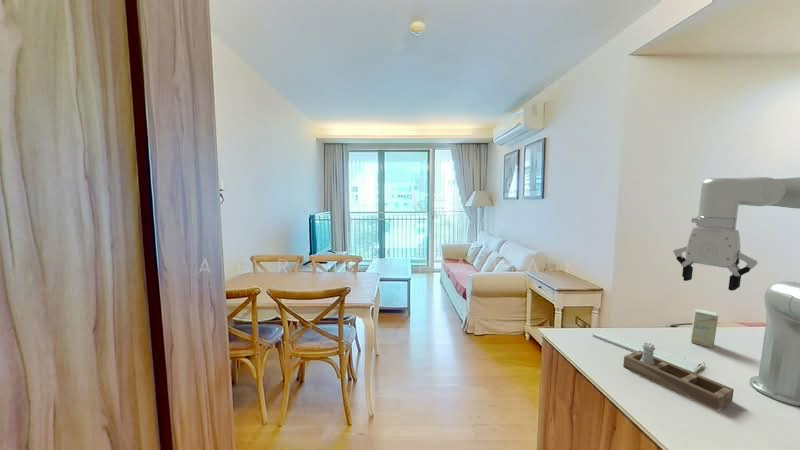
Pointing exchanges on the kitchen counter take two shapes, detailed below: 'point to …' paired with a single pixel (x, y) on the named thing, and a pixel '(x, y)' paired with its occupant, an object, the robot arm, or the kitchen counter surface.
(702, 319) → the skincare box
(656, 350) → the baseboard
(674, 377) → the rack
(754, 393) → the kitchen counter surface
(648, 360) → the rook chess piece
